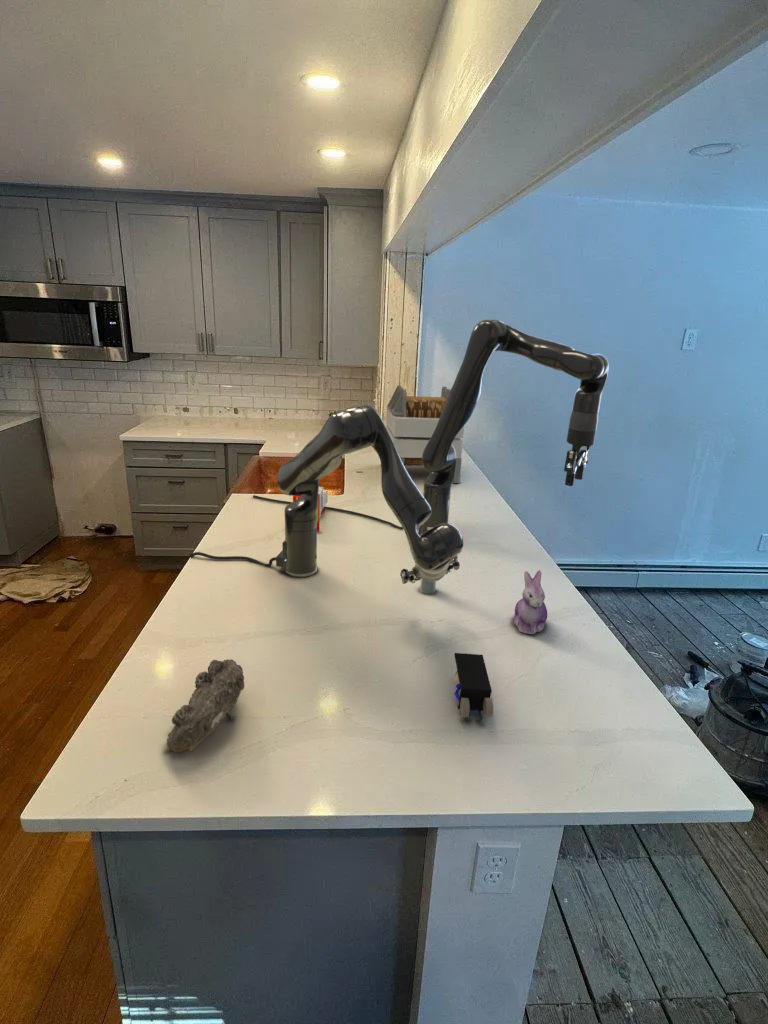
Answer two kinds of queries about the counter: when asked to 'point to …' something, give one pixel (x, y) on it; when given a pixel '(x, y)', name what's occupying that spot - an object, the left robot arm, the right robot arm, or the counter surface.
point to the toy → (321, 503)
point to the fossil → (206, 705)
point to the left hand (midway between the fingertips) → (428, 574)
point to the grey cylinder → (427, 587)
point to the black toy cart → (472, 685)
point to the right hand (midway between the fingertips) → (573, 482)
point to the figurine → (531, 606)
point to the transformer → (417, 426)
